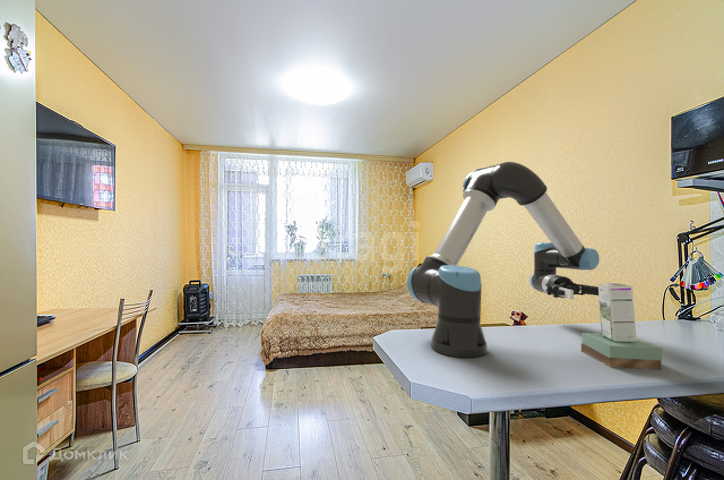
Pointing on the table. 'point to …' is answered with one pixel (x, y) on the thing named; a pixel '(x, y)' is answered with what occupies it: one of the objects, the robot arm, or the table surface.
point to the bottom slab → (621, 360)
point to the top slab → (622, 347)
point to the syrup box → (617, 312)
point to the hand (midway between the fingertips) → (596, 295)
